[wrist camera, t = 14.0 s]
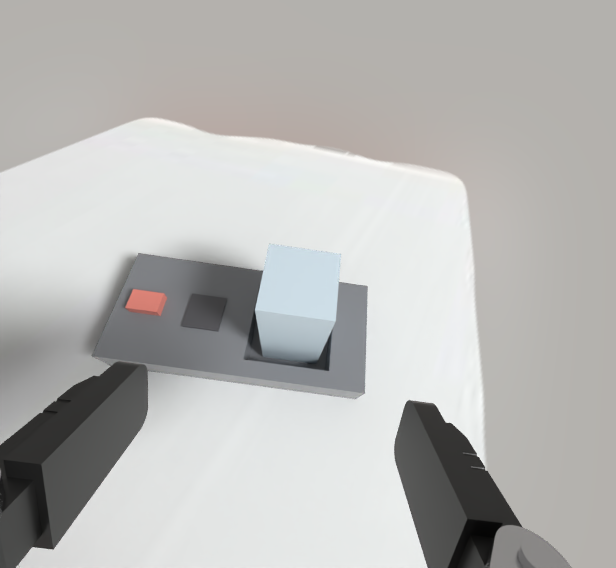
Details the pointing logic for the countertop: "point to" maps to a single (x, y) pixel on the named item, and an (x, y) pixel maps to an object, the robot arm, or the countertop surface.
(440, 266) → the countertop surface
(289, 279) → the block
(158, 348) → the power strip
